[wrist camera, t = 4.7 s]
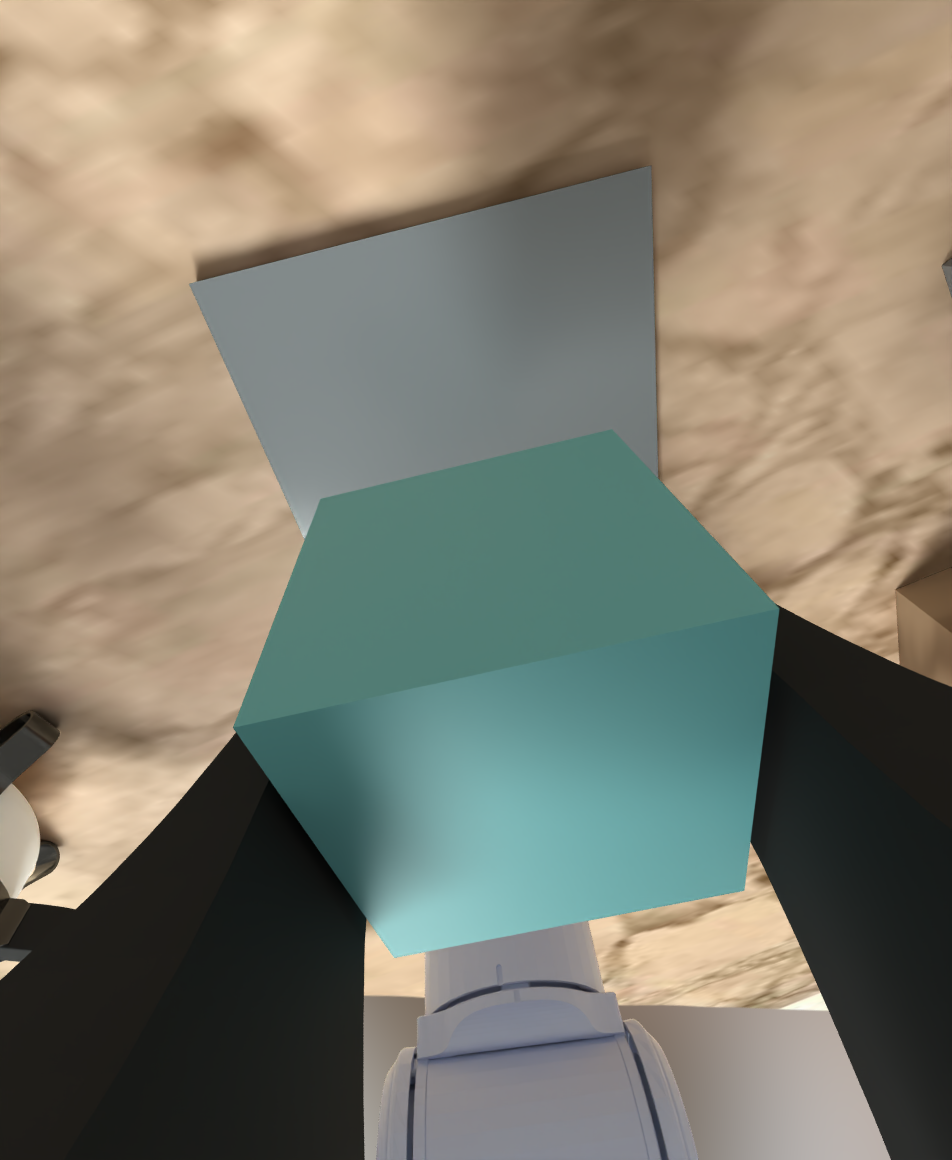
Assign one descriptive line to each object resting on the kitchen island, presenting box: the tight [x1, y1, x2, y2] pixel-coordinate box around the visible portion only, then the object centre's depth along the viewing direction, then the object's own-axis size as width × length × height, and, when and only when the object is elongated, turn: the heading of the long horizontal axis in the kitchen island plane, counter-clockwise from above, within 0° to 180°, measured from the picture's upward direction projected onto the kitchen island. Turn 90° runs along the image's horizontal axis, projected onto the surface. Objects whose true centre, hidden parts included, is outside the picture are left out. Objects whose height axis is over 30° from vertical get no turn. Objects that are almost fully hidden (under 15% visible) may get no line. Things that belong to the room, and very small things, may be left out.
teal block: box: [233, 429, 779, 958], centre depth 8 cm, size 5×5×5 cm
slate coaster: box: [189, 166, 658, 540], centre depth 17 cm, size 12×12×1 cm
